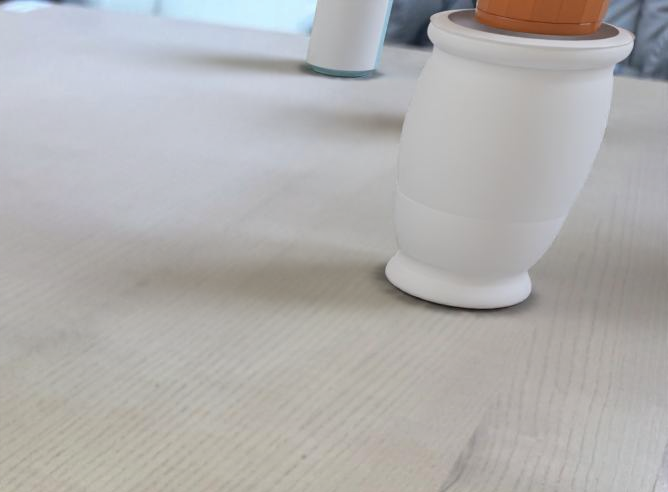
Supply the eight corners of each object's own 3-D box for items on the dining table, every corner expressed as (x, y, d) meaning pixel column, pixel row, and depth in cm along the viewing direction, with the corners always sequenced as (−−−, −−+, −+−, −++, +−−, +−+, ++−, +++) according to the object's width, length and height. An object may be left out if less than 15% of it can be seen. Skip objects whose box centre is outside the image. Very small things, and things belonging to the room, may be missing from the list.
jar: (433, 326, 69) (513, 47, 60) (333, 262, 77) (392, 8, 68) (586, 309, 71) (683, 40, 63) (474, 249, 79) (547, 3, 71)
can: (293, 70, 121) (318, -63, 114) (320, 58, 126) (346, -70, 119) (361, 82, 118) (391, -55, 111) (386, 69, 122) (417, -63, 115)
